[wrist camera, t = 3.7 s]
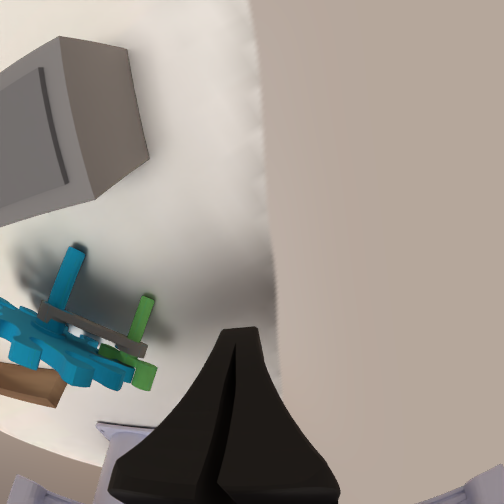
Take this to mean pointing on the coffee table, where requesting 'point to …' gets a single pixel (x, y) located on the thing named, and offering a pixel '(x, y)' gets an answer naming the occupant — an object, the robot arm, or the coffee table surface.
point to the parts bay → (31, 384)
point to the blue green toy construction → (76, 338)
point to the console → (66, 127)
